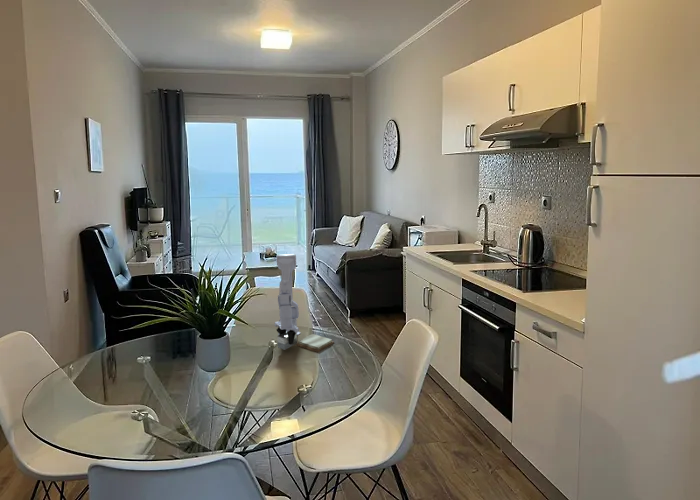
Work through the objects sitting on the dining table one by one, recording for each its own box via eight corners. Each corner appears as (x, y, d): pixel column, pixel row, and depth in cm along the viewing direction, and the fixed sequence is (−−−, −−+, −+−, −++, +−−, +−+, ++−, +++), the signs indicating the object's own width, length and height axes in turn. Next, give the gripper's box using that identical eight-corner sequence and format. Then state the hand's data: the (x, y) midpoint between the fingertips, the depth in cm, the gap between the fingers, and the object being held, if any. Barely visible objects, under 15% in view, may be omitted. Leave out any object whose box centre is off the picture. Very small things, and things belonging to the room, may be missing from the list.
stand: (296, 345, 261) (296, 341, 261) (313, 336, 271) (312, 332, 271) (318, 352, 253) (317, 348, 253) (334, 342, 263) (334, 339, 263)
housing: (278, 347, 253) (277, 336, 252) (290, 340, 260) (289, 330, 259) (284, 349, 251) (284, 338, 249) (297, 343, 258) (296, 332, 256)
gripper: (269, 316, 253) (271, 341, 256) (291, 322, 244) (293, 349, 248) (279, 311, 258) (281, 336, 262) (301, 318, 250) (302, 343, 253)
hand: (287, 342), depth 255 cm, fingers closed on housing, 4 cm apart
